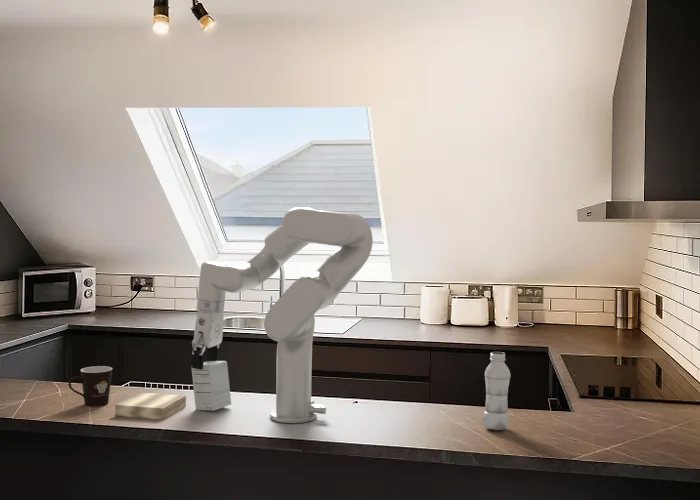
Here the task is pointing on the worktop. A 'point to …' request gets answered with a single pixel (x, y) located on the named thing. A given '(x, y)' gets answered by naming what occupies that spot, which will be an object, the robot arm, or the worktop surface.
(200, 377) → the supplement box
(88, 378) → the coffee mug
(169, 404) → the block
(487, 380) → the plastic bottle
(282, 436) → the worktop surface
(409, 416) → the worktop surface
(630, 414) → the worktop surface
